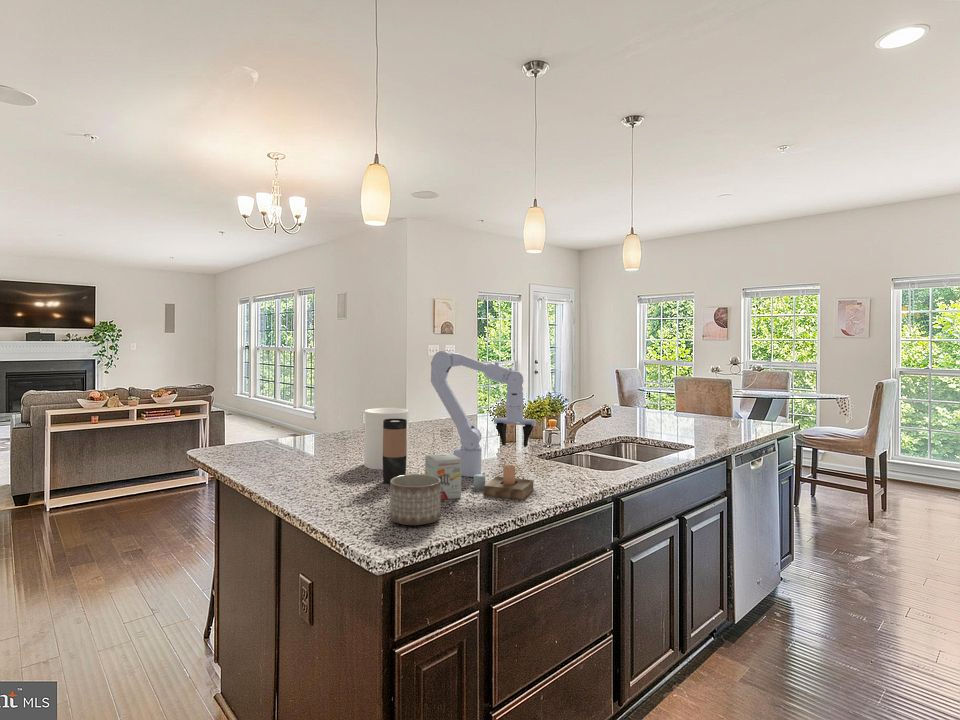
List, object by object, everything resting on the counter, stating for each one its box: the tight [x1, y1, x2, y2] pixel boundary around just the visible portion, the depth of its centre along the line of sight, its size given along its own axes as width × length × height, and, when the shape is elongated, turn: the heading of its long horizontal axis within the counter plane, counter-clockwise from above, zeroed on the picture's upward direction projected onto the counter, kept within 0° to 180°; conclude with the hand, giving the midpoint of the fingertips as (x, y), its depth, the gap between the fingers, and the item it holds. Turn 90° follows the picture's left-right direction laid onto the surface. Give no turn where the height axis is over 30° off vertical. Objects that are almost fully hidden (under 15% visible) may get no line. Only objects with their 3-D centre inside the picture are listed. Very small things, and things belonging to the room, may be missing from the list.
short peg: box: [473, 474, 486, 491], centre depth 167 cm, size 4×4×4 cm
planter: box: [389, 473, 441, 526], centre depth 136 cm, size 13×13×10 cm
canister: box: [363, 407, 410, 471], centre depth 198 cm, size 16×16×20 cm
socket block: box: [483, 475, 534, 501], centre depth 163 cm, size 12×12×3 cm
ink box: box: [424, 453, 462, 501], centre depth 159 cm, size 9×9×12 cm
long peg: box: [502, 464, 516, 485], centre depth 163 cm, size 4×4×8 cm
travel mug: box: [382, 419, 407, 485], centre depth 174 cm, size 8×8×20 cm
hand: (514, 445), depth 183 cm, fingers open, 7 cm apart
